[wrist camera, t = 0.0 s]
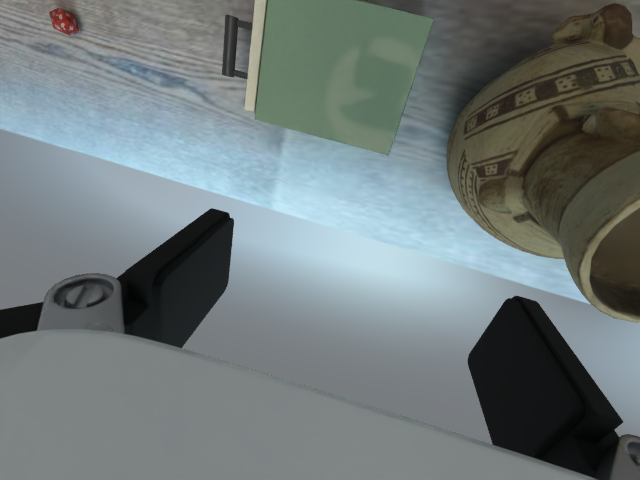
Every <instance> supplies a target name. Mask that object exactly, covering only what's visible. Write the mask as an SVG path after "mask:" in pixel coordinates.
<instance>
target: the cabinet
mask: <svg viewBox="0 0 640 480" xmlns="http://www.w3.org/2000/svg"><path fill="white" fill-rule="evenodd" d="M433 20H434V19H433V18H430V17H425V16H421V15H417V14H413V13H409V12H405V11H401V10H397V9H393V8H388V7H384V6H380V5H376V4H372V3H368V2H364V1H360V0H268V5H267V14H266V23H265V32H264V41H263V50H262V59H261V68H260V77H259V86H258V95H257V104H256V112H255V120H259V121H263V122H266V123H270V124H274V125H277V126H281V127H285V128H289V129H292V130H296V131H300V132H303V133H307V134H311V135H315V136H318V137H322V138H326V139H329V140H333V141H337V142H341V143H344V144H348V145H352V146H355V147H359V148H363V149H367V150H370V151H374V152H378V153H381V154H385V155H389V153H390V150H391V147H392V144H393V141H394V138H395V135H396V132H397V129H398V126H399V123H400V119H401V116H402V113H403V110H404V107H405V104H406V101H407V98H408V95H409V92H410V89H411V86H412V83H413V80H414V77H415V74H416V71H417V68H418V65H419V62H420V59H421V56H422V53H423V50H424V47H425V44H426V41H427V38H428V35H429V32H430V29H431V26H432V23H433Z"/></svg>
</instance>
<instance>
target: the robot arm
mask: <svg viewBox="0 0 640 480" xmlns="http://www.w3.org/2000/svg"><path fill="white" fill-rule="evenodd" d="M233 227H234V220H233V219H232V218H230V216H229V213H227V212H223V211H220V210H216V209H210V210H208V211H207V212H205V213H204V214H203V215H201V216H200V217H199V218H197V219H196V220H195V221H193V222H192V223H191V224H189V225H188V226H186V227H185V228H184V229H182V230H181V231H179V232H178V233H177V234H175V235H174V236H173V237H171V238H170V239H168V240H167V241H166V242H164V243H163V244H162V245H160V246H159V247H158V248H156V249H155V250H153V251H152V252H151V253H149V254H148V255H147V256H145V257H144V258H142V259H141V260H140V261H138V262H137V263H136V264H134V265H133V266H132V267H130V268H129V269H127V270H126V271H125V272H124V273H123V274H122V275H120V276H119V277H118V278H115V277H112V276H109V275H106V274H99V273H94V274H92V273H91V274H82V275H76V276H73V277H70V278H67V279H64V280H63V281H61V282H59V283H57V284H55V285H54V286H53V287H52V288H51V289H50V290H48V292H47V294H46V296H45V298H44V302H41V303H36V304H30V305H25V306H19V307H14V308H8V309H3V310H0V480H640V437H638V436H634V435H629V434H628V435H622V436H621V437H618V435H617V434H616V432H615V430H614V429H616V428H617V427H618V426H619V425H620V424H622V423H623V421H622V420H621V418H620V416H619V415H618V414H617V412H616V411H615V410H614V408H613V407H612V406H611V404H610V403H609V401H608V400H607V398H606V397H605V396H604V394H603V393H602V391H601V390H600V389H599V387H598V386H597V385H596V383H595V382H594V380H593V379H592V377H591V376H590V375H589V373H588V372H587V370H586V369H585V368H584V366H583V365H582V364H581V362H580V361H579V359H578V358H577V356H576V355H575V354H574V352H573V351H572V350H571V348H570V347H569V346H568V344H567V343H566V341H565V340H564V338H563V337H562V336H561V334H560V333H559V332H558V331H557V329H556V327H555V326H554V324H553V323H552V322H551V320H550V319H549V317H548V316H547V315H546V313H545V312H544V311H543V309H542V308H541V306H540V305H539V304H538V303H537V302H536V301H533V300H530V299H526V298H523V297H519V296H514V297H513V298H512V299H510V298H509V299H507V300H506V301H505V302H504V303H503V305H502V306H501V308H500V309H499V311H498V312H497V314H496V315H495V317H494V318H493V320H492V321H491V323H490V324H489V326H488V327H487V329H486V330H485V332H484V333H483V335H482V336H481V338H480V339H479V341H478V342H477V343H476V345H475V347H474V348H473V349H472V351H471V352H470V354H469V357H468V365H469V369H470V372H471V376H472V379H473V382H474V385H475V388H476V392H477V395H478V398H479V401H480V405H481V408H482V411H483V414H484V417H485V421H486V424H487V427H488V430H489V433H490V437H491V440H492V443H493V445H492V444H489V443H486V442H482V441H479V440H476V439H473V438H470V437H467V436H464V435H461V434H457V433H454V432H451V431H448V430H445V429H441V428H438V427H436V426H432V425H429V424H426V423H423V422H420V421H417V420H413V419H410V418H407V417H404V416H401V415H397V414H394V413H391V412H388V411H385V410H381V409H378V408H375V407H372V406H369V405H365V404H362V403H359V402H356V401H353V400H349V399H346V398H343V397H340V396H337V395H334V394H330V393H327V392H324V391H321V390H318V389H314V388H311V387H308V386H305V385H301V384H298V383H295V382H292V381H288V380H285V379H282V378H279V377H275V376H272V375H269V374H265V373H262V372H259V371H256V370H252V369H249V368H246V367H243V366H240V365H236V364H233V363H230V362H227V361H223V360H220V359H216V358H213V357H210V356H206V355H203V354H199V353H196V352H193V351H189V350H186V349H182V347H183V345H184V344H185V343H186V341H187V340H188V339H189V337H190V336H191V335H192V334H193V332H194V331H195V330H196V328H197V327H198V325H199V324H200V323H201V321H202V320H203V319H204V318H205V316H206V315H207V314H208V312H209V311H210V310H211V308H212V307H213V306H214V304H215V303H216V302H217V300H218V299H219V298H220V297H221V295H222V294H223V293H224V291H225V289H226V287H227V284H228V279H229V268H230V257H231V247H232V237H233Z"/></svg>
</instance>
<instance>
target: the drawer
mask: <svg viewBox="0 0 640 480" xmlns="http://www.w3.org/2000/svg"><path fill="white" fill-rule="evenodd" d="M267 5H268V0H255V5H254V16H253V24H252V23H248V22H244V21H240V20H238V18H236V17H233V16H230V15H226V17H225V34H224V51H223V67H222V75H225V76H229V77H234V76H237V77H241V78H245V79H247V89H246V100H245V110H248V111H252V112H256V104H257V95H258V86H259V77H260V68H261V59H262V50H263V41H264V32H265V23H266V14H267ZM238 27H241V28H245V29H249V30H252V37H251V47H250V58H249V68H248V73H244V72H241V71H237V70H235V59H236V46H237V33H238Z"/></svg>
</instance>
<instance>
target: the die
mask: <svg viewBox="0 0 640 480" xmlns="http://www.w3.org/2000/svg"><path fill="white" fill-rule="evenodd" d="M49 13H50V17H51V21H52V24H53V27H54V29H56V30H58V31H60V32H63V33H65V34H68V35H71V34H74V33H76V32H78V31H79V28H78V24H77V20H76V17H75V15H74V14H72V13H70V12H68V11H66V10H64V9H61V8H57V9H55V10H53V11H51V12H49Z"/></svg>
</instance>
